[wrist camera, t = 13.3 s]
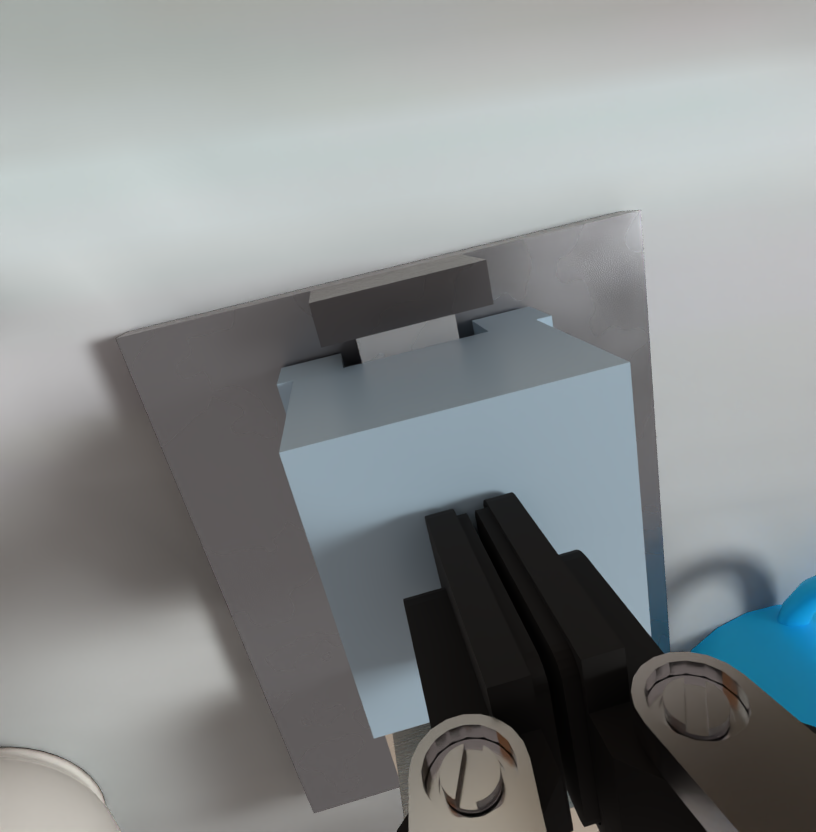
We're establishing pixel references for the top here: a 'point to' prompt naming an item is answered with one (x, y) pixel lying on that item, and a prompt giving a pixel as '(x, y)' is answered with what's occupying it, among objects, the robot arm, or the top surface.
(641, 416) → the rail plate
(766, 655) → the mug
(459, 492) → the block
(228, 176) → the top surface
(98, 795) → the lidded jar
